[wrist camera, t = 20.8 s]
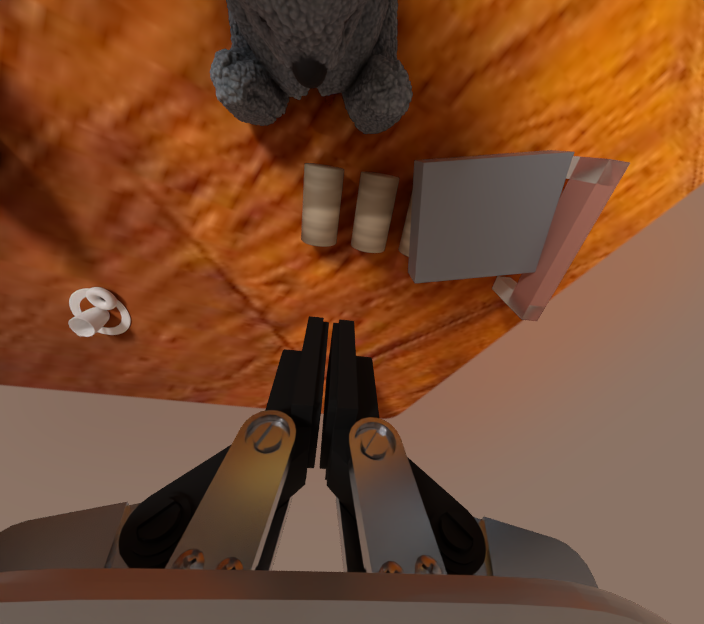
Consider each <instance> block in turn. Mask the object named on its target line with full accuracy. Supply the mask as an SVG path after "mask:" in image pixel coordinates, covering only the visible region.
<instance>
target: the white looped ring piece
mask: <svg viewBox="0 0 704 624" xmlns="http://www.w3.org/2000/svg"><path fill="white" fill-rule="evenodd" d="M84 297H87V299H88V300H89V301H90V302H91V303H92V304H93V305H94V306H96V307H94V308H91V309H88V310H86V311H84V312H81V310H80V301H81V300H82V299H83V298H84ZM100 297H101V298H103V299H104V300H105V301H104V300H102V299H101V298H100ZM69 305H70V309H71V311H72V313H73V314H74V316H75V317H73V318H72V319H70V320H69V326H70V328H71V329H72V330H73V331H74V332H75V333H77V335H78V336H81V337H82V336H85V337H89V336H92V335H94V334H95V333H96V332H99V333H102V334H107V335H117V334H121V333H123V332H125V331H126V330H127V329H128V328H129V326H130V323H131V319H130V315H129V313H128V311H127V309H126V308H125V307H124V305H123V304H122V303H121V302H120V301H118V300H117V299H116V297H115V296H114V295H113V294H112V293H111V292H110V291H108V290H106V289H104V288H100V287H93V288H90V289H80V290H77V291H75V292H74V293H73V294H72V295H71V297H70V300H69ZM115 307H117V308H118V310H119V311H120V313H121V316H122V321H121V323H120V324H119V325H118V326H116V327H113V328H106V327H103V326H104V325H105V324H106V323H107V321H108V320H109V318H110V314H109V312H108V311H107V310H111V309H114V308H115Z"/></svg>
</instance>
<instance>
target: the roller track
mask: <svg viewBox="0 0 704 624" xmlns="http://www.w3.org/2000/svg"><path fill="white" fill-rule="evenodd" d="M343 178H344V169H342V168H339V167H334V166H329V165H323V164H314V163H305V167H304V189H303V212H302V235H301V240H302V241H303V242H305V243H307V244H310V245H314V246H324V247H325V246H332V245H335V244H336V240H337V231H338V222H339V214H340V205H341V196H342V187H343ZM399 179H400V178H398V177H395V176H391V175H387V174H381V173H375V172H361V176H360V183H359V191H358V198H357V205H356V212H355V219H354V226H353V233H352V240H351V246H352V247H353V248H355V249H357V250H360V251H363V252H368V253H380V252H383V251H384V250H385V246H386V241H387V236H388V231H389V227H390V222H391V217H392V212H393V207H394V203H395V198H396V193H397V188H398V183H399ZM412 193H413V190H412ZM411 211H412V195H411V199H410V203H409V207H408V212H407V216H406V220H405V224H404V229H403V233H402V237H401V241H400V246H399V252H400V253H402V254H404V255H406V256H408V257H409V245H410V228H411Z"/></svg>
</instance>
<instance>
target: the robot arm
mask: <svg viewBox="0 0 704 624" xmlns="http://www.w3.org/2000/svg"><path fill="white" fill-rule="evenodd" d="M323 319H324V318H320V317H310V316H309V319H308V324H307V329H306V334H305V339H304V344H303V349H302V351H296V350H285V349H284V350H283V352H282V355H281V359H280V362H279V365H278V369H277V372H276V376H275V379H274V383H273V386H272V390H271V393H270V396H269V400H268V403H267V407H266V410H265V411H262V412H259V413H257V414H255V415H253V416H251V417H250V418H249V419H248V420H246V422H245V423H244V424H243V426H242V427H241V428H240V430H239V432H238V434H237V436H236V438H235V439H234V441H233V443H232V445H230V446H228V447H227V448H225V449H224V450H222V451H220V452H219V453H217V454H216V455H214V456H213V457H211V458H210V459H208V460H207V461H205V462H203V463H202V464H200V465H199V466H197V467H195V468H194V469H192V470H191V471H189V472H187V473H186V474H184V475H183V476H181V477H179V478H178V479H176V480H175V481H173V482H172V483H170V484H168V485H167V486H165V487H164V488H162V489H161V490H159V491H157V492H156V493H154V494H153V495H151V496H150V497H148V498H147V499H146V500H145V501H143V502H142V503H139V504H133V505H129V504H128V502H123V503H118V504H113V505H108V506H102V507H97V508H92V509H86V510H81V511H76V512H70V513H65V514H60V515H55V516H49V517H43V518H38V519H33V520H28V521H24V522H21V523H18V524H16V525H12V526H10V527H9V528H7V529H5V530H3V531H2V532H0V624H671V623H669V622H668V621H666V620H664V619H663V618H661V617H660V616H658V615H656V614H655V613H653V612H651V611H649V610H647V609H645V608H643V607H642V606H640V605H638V604H636V603H634V602H632V601H630V600H627V599H625V598H623V597H620V596H618V595H616V594H613V593H611V592H608V591H605V590H601V589H598V586H597V584H596V582H595V579H594V577H593V575H592V573H591V571H590V570H589V568H588V566H587V564H586V563H585V562H584V560H583V559H582V558H581V557H580V556H579V554H578V553H577V552H576V551H574V550H573V549H572V548H571V547H570V546H568V545H567V544H566V543H564V542H562V541H560V540H557V539H555V538H552V537H549V536H546V535H542V534H539V533H536V532H533V531H529V530H526V529H523V528H520V527H516V526H513V525H510V524H507V523H503V522H500V521H497V520H494V519H491V518H487V517H483V518H482V519H478V518H475V517H473V516H472V515H471V514H470V513H469V512H468V510H467V509H465V508H464V507H463V506H462V505H461V504H460V503H459V502H458V501H456V500H455V499H454V498H453V497H452V496H451V495H450V494H449V493H447V492H446V491H445V490H444V489H443V488H442V487H441V486H439V485H438V484H437V483H436V482H435V481H434V480H433V479H432V478H430V477H429V476H428V475H427V474H426V473H425V472H424V471H423V470H421V469H420V468H419V467H418V466H417V465H416V464H415V463H413V462H412V461H411V460H410V459H409V458H408V457H407V455H406V452H405V449H404V446H403V443H402V440H401V438H400V436H399V434H398V432H397V430H396V429H395V428H394V427H393V426H392V425H391V424H389V423H388V422H386V421H385V420H382V419H379V411H378V403H377V395H376V387H375V378H374V370H373V362H372V358H371V357H361V356H356V350H355V330H354V321H349V320H339V323H333V330H332V338H331V346H330V354H329V362H328V370H327V378H326V390H325V403H324V417H323V430H322V443H321V455H320V469H321V468H322V469H326V477H325V480H327V486H328V487H329V489H330V490H331V491H332V492H333V493H334V494H335V496H336V506H337V516H338V525H339V534H340V543H341V552H342V561H343V570H344V572H311V571H310V572H309V571H272V567H273V564H274V560H275V557H276V553H277V549H278V547H279V543H280V540H281V536H282V533H283V529H284V525H285V522H286V519H287V515H288V512H289V508H290V505H291V501H292V496H293V495H294V494H295V493H296V492H297V491H298V490H299V489H300V488H302V487H303V486H304V485H305V480H306V474H307V468H314V465H315V457H316V448H317V440H318V432H319V423H320V415H321V407H322V396H323V385H324V373H325V362H326V350H327V339H328V327H329V322H323Z"/></svg>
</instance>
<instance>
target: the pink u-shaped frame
mask: <svg viewBox="0 0 704 624" xmlns="http://www.w3.org/2000/svg"><path fill="white" fill-rule="evenodd" d="M629 164H630V163H629V162H623V161H617V160H611V159H601V158H589V157H577V156H573V158H572V161H571V164H570V167H569V170H568V173H567V176H566V178H567V179H569V181H568V183H567V185H566V187H565V189H564V191H563V193H562V195H561V197H560V199H559V201H558V204H557V207H556V210H555V213H554V216H553V219H552V222H551V225H550V228H549V231H548V234H547V237H546V240H545V243H544V247H543V250H542V253H541V256H540V259H539V262H538V265H537V268H536V271H535V272H532V273H522V275H521V277H520V279H519V281H518V283H516V282H515V281H514V280H513V279H512V278H509V277H501V276H497V278H496V280H495V283H494V285H493V287H492V289H493V290H494V292H495V293H496V294H497V295H498V296H499V297H500V298H501V299H502V300H503V301H504V302H505V303H506V304H507V305H508V306H509V307H510V308H511V309H512V310H513V311H514V312H515V313H516V314H517V315H518V316H519V317H520V318H521V319H522V320H531V321H537V320H538V319H539V317H540V315H541V314H542V312H543V310H544V309H545V307H546V305H547V303H548V302H549V300H550V298H551V297H552V295H553V293H554V292H555V290H556V288H557V286H558V285H559V283H560V281H561V280H562V278H563V276H564V275H565V273H566V271H567V269H568V268H569V266H570V264H571V263H572V261H573V259H574V258H575V256H576V254H577V252H578V251H579V249H580V247H581V246H582V244H583V242H584V241H585V239H586V237H587V235H588V234H589V232H590V230H591V229H592V227H593V225H594V224H595V222H596V220H597V218H598V217H599V215H600V213H601V212H602V210H603V208H604V207H605V205H606V203H607V201H608V200H609V198H610V196H611V195H612V193H613V191H614V190H615V188H616V186H617V184H618V183H619V181H620V179H621V178H622V176H623V174H624V173H625V171H626V169H627V167H628V166H629Z"/></svg>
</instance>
